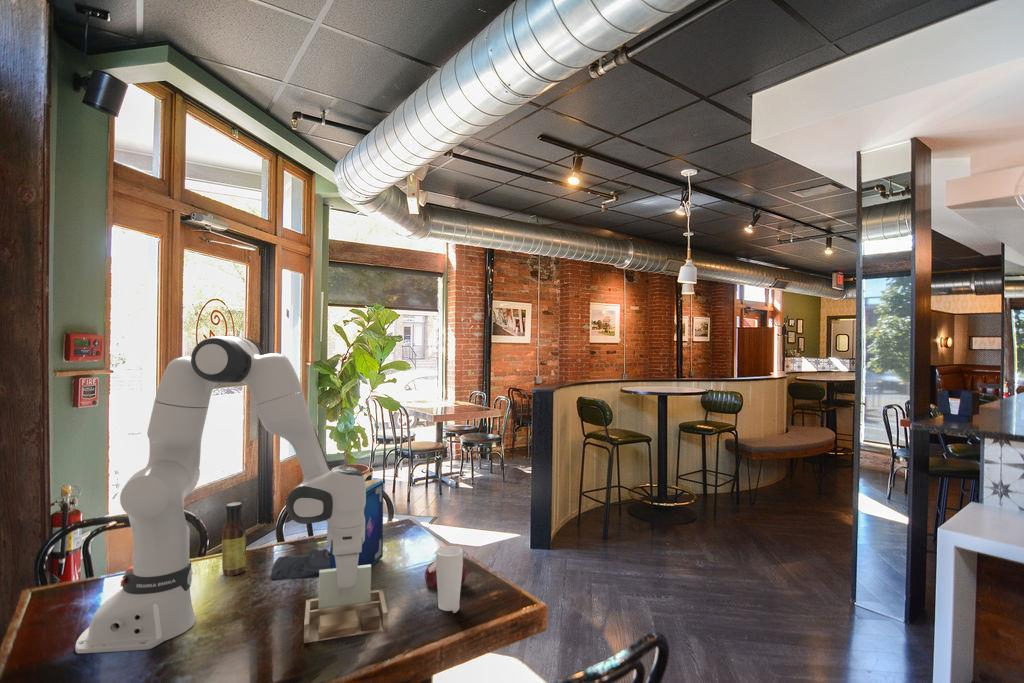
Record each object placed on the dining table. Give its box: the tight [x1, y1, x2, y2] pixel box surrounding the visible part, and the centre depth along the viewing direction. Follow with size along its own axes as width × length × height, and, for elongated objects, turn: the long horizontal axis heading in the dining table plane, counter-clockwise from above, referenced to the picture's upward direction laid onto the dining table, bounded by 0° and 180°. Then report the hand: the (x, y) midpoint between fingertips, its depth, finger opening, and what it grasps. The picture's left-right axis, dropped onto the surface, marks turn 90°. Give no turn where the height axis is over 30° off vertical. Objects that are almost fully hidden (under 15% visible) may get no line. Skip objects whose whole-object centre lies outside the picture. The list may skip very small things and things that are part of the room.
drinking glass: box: [435, 545, 464, 614], centre depth 134 cm, size 7×7×15 cm
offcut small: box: [361, 608, 380, 631], centre depth 124 cm, size 4×4×3 cm
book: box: [329, 478, 384, 569], centre depth 156 cm, size 22×7×25 cm, turn 169°
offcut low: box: [318, 623, 356, 639], centre depth 121 cm, size 8×5×2 cm, turn 109°
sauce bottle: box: [221, 501, 247, 577], centre depth 155 cm, size 7×6×20 cm
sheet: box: [318, 564, 372, 609], centre depth 128 cm, size 12×2×11 cm, turn 109°
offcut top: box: [319, 610, 358, 633], centre depth 121 cm, size 8×5×2 cm, turn 113°
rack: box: [303, 589, 389, 644], centre depth 125 cm, size 18×12×5 cm, turn 109°
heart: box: [424, 559, 469, 590], centre depth 148 cm, size 12×8×10 cm
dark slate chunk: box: [270, 548, 330, 581], centre depth 159 cm, size 15×22×5 cm
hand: (344, 591), depth 128 cm, fingers closed on sheet, 2 cm apart
